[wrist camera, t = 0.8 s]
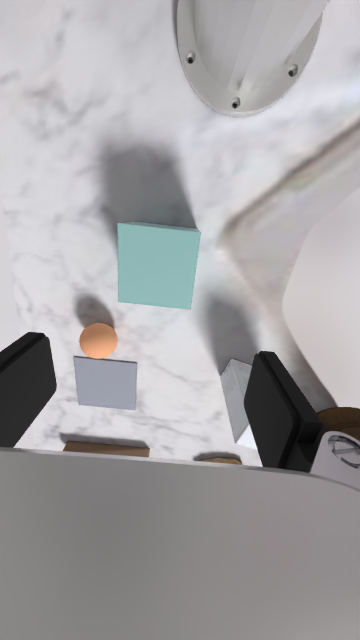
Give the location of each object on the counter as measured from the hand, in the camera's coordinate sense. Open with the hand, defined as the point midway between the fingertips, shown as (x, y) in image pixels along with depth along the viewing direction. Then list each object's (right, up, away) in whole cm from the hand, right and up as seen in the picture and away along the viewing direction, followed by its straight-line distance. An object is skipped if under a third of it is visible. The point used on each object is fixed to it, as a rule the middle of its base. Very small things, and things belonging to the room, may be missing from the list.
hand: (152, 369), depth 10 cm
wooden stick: (-13, -23, +35) cm, 43 cm away
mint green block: (-1, +10, +19) cm, 22 cm away
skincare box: (+11, -6, +27) cm, 30 cm away
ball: (-10, -1, +22) cm, 24 cm away
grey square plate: (-11, -9, +28) cm, 31 cm away
